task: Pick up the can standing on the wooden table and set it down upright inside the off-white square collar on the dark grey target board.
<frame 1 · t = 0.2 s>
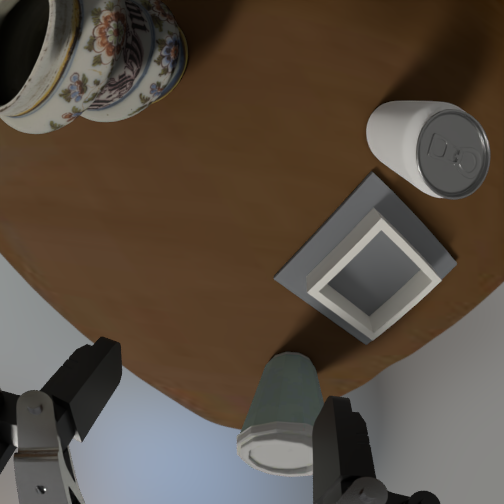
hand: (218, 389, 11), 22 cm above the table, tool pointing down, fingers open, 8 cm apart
disposable coffee cup: (289, 364, 40), on the table
apothecary jar: (142, 60, 25), on the table
target board: (371, 268, 32), on the table
can: (396, 133, 26), on the table
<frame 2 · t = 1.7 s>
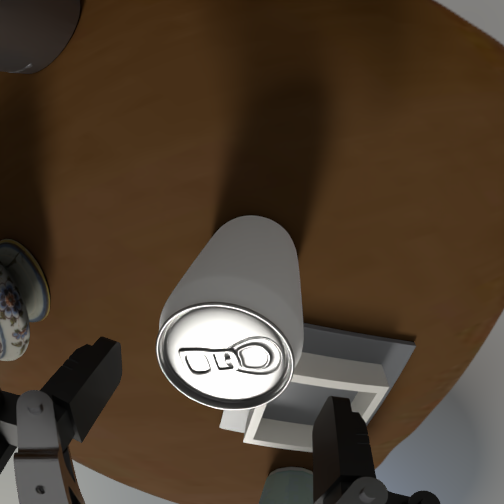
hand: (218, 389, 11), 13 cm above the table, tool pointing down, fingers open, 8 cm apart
disposable coffee cup: (290, 475, 33), on the table
apothecary jar: (20, 281, 27), on the table
target board: (310, 392, 27), on the table
can: (253, 256, 23), on the table
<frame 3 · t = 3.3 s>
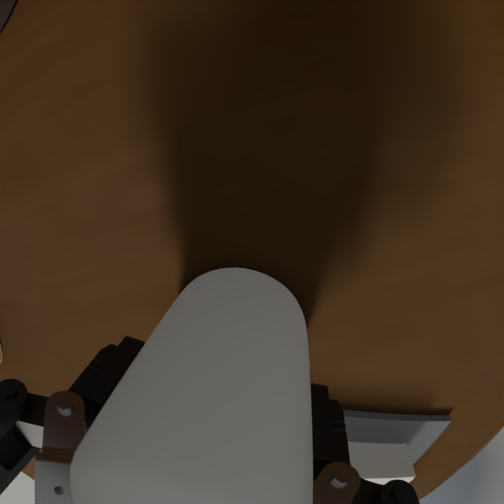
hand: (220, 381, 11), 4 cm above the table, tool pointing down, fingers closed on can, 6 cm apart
target board: (314, 470, 19), on the table
can: (239, 323, 15), on the table, touching gripper
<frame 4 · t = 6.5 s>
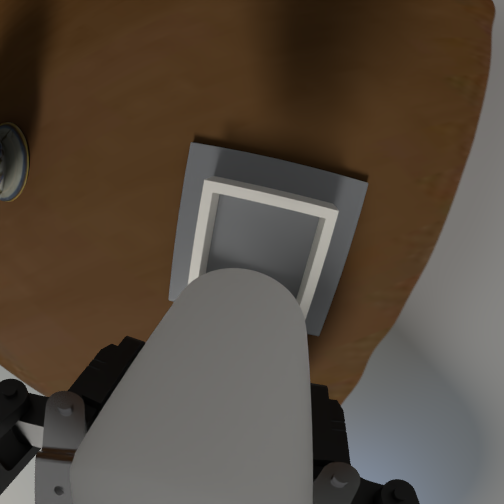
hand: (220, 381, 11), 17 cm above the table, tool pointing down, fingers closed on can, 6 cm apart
apothecary jar: (6, 162, 28), on the table
target board: (260, 244, 27), on the table
can: (239, 323, 15), point 13 cm above the table, touching gripper
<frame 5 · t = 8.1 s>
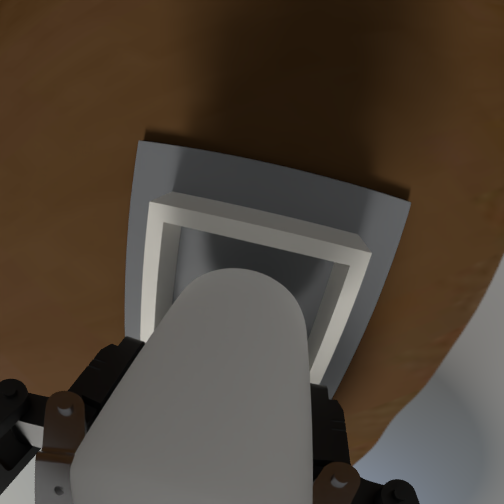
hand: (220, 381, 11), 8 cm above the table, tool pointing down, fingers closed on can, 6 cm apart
target board: (246, 292, 18), on the table
can: (239, 323, 15), point 3 cm above the table, touching gripper
when the fingers open (6 cm above the table, at t = 9.5 s): can drops 1 cm, resting on target board.
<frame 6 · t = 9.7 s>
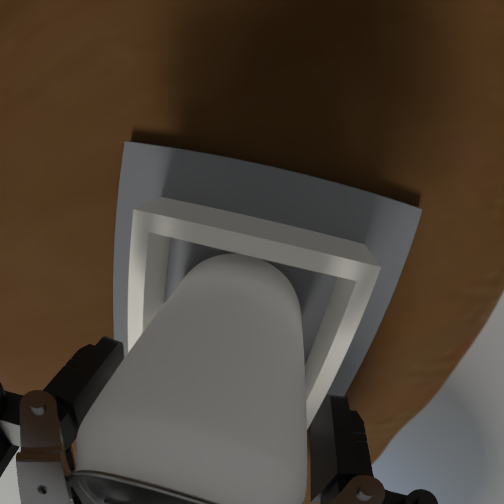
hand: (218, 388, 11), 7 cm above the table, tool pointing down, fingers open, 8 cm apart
target board: (242, 305, 17), on the table
can: (238, 307, 16), resting on target board
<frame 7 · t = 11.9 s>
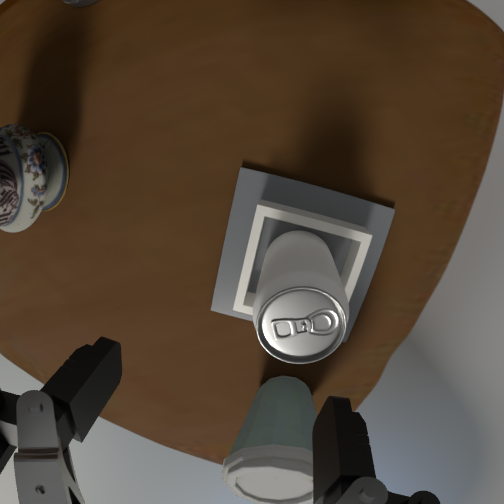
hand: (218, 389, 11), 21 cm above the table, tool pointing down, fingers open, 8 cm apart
disposable coffee cup: (282, 390, 36), on the table
apothecary jar: (42, 172, 31), on the table
target board: (299, 261, 31), on the table
can: (298, 261, 30), resting on target board
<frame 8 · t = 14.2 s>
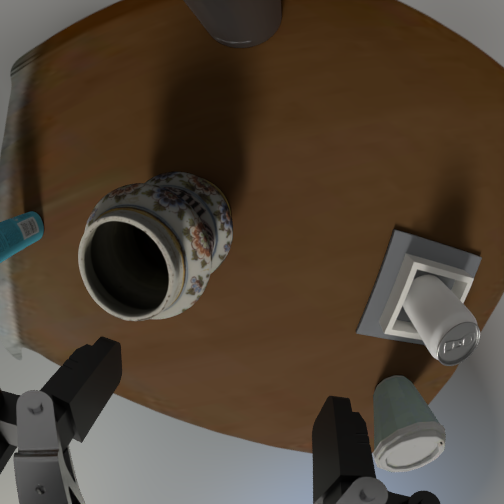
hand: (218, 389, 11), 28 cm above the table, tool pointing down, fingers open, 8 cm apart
disposable coffee cup: (390, 386, 44), on the table
apothecary jar: (192, 216, 38), on the table
target board: (421, 294, 38), on the table
tube: (35, 226, 42), on the table
can: (421, 294, 38), resting on target board
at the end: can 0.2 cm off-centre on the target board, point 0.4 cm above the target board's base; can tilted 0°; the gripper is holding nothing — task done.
